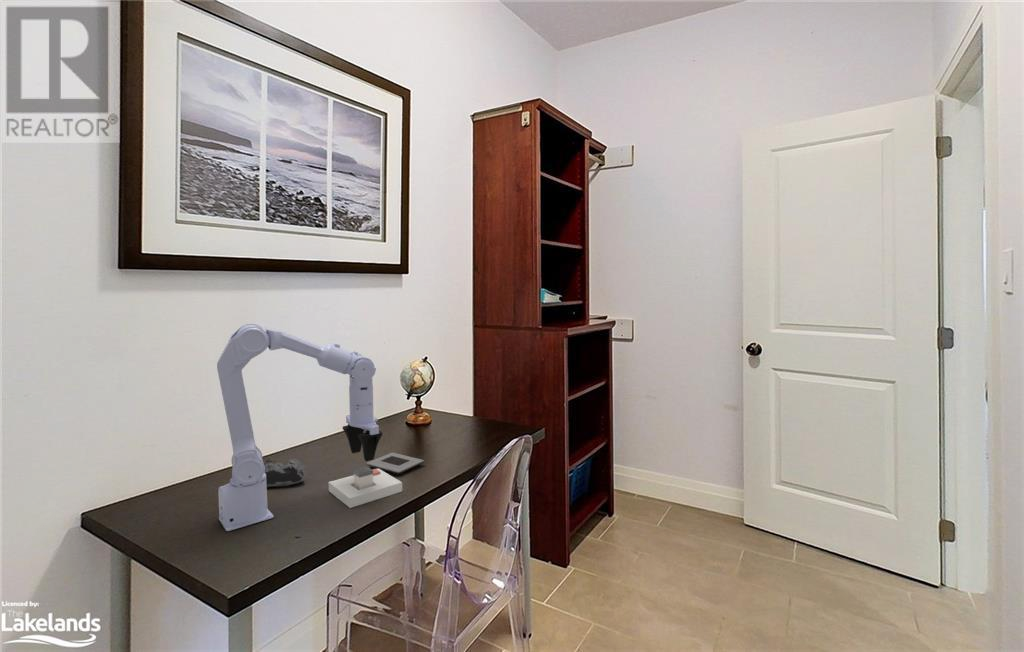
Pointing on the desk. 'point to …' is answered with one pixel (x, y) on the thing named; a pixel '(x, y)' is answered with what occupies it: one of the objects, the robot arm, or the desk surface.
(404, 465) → the electrical outlet
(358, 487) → the plug
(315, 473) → the desk surface
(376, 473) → the socket plate
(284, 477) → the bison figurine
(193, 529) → the desk surface
